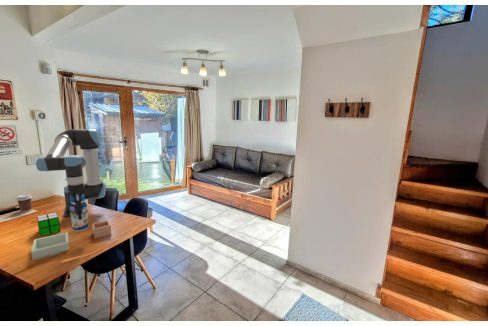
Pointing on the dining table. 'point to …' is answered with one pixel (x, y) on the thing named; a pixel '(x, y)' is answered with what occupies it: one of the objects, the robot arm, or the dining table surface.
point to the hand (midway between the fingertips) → (80, 221)
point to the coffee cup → (24, 202)
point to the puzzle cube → (48, 224)
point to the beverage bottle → (74, 217)
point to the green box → (50, 246)
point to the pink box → (101, 229)
